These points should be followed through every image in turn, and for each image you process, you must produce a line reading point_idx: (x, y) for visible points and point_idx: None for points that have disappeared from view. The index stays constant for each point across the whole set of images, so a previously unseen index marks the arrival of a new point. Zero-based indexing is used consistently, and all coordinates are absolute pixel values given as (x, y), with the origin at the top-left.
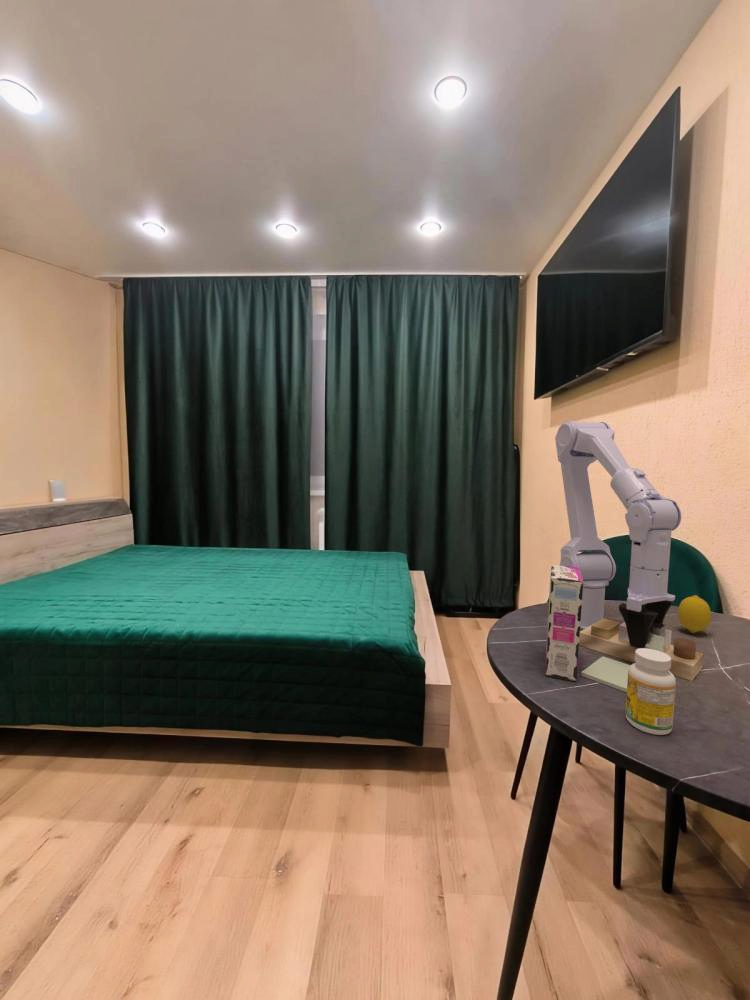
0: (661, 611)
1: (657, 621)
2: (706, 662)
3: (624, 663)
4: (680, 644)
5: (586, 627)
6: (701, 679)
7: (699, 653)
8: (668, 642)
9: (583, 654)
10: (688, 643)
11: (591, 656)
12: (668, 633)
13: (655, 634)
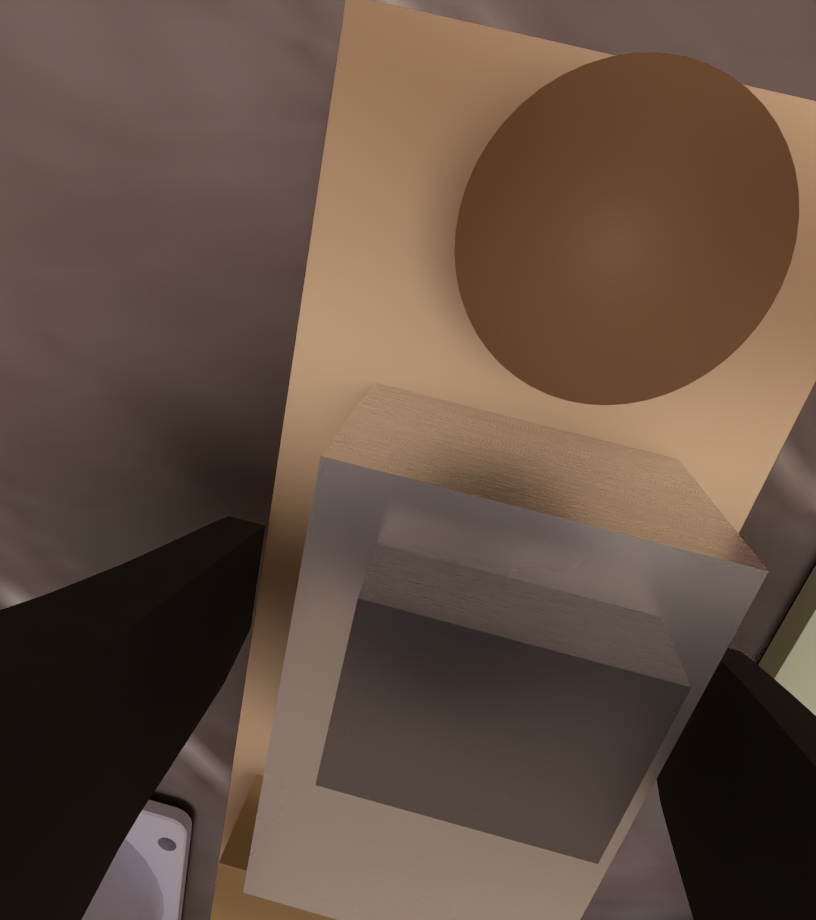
0: (3, 790)
1: (151, 660)
2: (194, 10)
3: (780, 680)
4: (750, 317)
5: (170, 871)
6: (725, 62)
7: (375, 50)
8: (477, 437)
9: (658, 866)
10: (689, 192)
11: (667, 829)
12: (512, 505)
13: (696, 672)
